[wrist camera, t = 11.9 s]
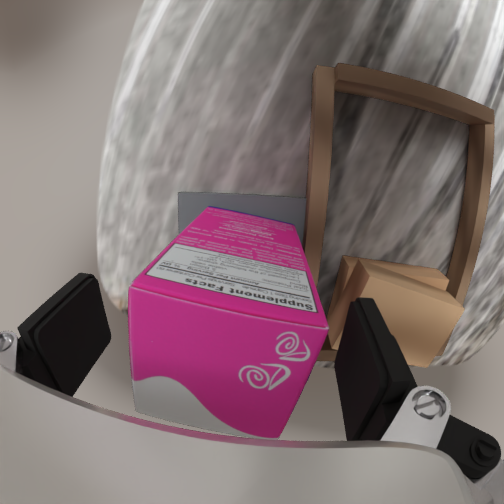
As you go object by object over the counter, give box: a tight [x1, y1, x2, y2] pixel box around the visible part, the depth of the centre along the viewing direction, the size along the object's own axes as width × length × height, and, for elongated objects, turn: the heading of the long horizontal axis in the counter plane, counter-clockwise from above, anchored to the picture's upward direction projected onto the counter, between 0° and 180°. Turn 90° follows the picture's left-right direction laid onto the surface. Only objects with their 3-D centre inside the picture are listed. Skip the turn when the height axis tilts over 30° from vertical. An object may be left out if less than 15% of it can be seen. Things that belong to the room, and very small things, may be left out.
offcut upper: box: [327, 259, 465, 368], centre depth 17 cm, size 5×8×2 cm, turn 73°
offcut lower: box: [326, 255, 449, 322], centre depth 19 cm, size 5×8×2 cm, turn 84°
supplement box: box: [128, 206, 329, 440], centre depth 13 cm, size 6×6×12 cm
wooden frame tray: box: [302, 63, 494, 361], centre depth 16 cm, size 19×13×3 cm
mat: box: [178, 192, 306, 245], centre depth 19 cm, size 8×8×1 cm
